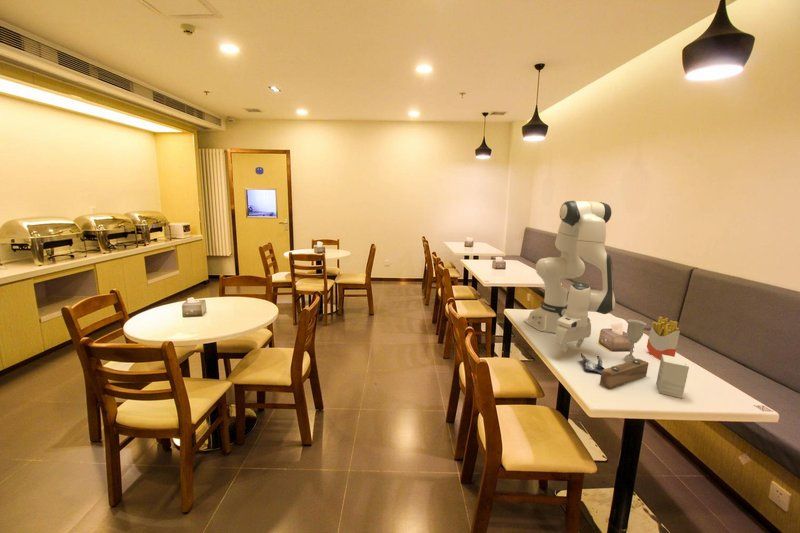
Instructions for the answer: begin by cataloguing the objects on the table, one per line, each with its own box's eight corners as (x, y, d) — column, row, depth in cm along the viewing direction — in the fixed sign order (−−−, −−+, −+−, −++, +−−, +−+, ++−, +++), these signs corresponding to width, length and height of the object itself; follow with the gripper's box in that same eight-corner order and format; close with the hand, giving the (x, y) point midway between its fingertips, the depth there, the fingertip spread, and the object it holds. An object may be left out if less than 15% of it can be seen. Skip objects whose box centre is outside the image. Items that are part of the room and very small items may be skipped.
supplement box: (679, 389, 134) (686, 358, 131) (682, 399, 127) (689, 366, 125) (655, 383, 137) (661, 353, 135) (657, 392, 131) (664, 361, 128)
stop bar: (599, 384, 135) (602, 368, 134) (635, 371, 146) (638, 356, 145) (609, 389, 132) (612, 372, 130) (646, 376, 143) (649, 360, 141)
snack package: (610, 368, 149) (580, 358, 157) (613, 355, 147) (582, 346, 154) (604, 383, 141) (573, 372, 148) (607, 369, 139) (575, 359, 146)
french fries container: (663, 362, 156) (671, 323, 152) (644, 351, 166) (652, 315, 163) (673, 362, 156) (681, 324, 153) (654, 351, 167) (661, 315, 163)
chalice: (641, 365, 152) (649, 326, 148) (624, 363, 153) (631, 324, 149) (634, 358, 159) (641, 320, 155) (617, 356, 160) (624, 318, 156)
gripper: (583, 314, 164) (579, 342, 167) (554, 320, 154) (550, 350, 157) (596, 318, 159) (592, 347, 161) (567, 325, 149) (563, 355, 151)
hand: (571, 349), depth 159 cm, fingers open, 8 cm apart
